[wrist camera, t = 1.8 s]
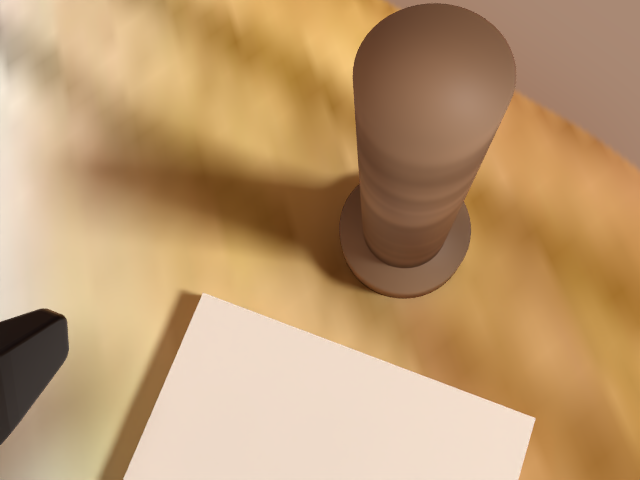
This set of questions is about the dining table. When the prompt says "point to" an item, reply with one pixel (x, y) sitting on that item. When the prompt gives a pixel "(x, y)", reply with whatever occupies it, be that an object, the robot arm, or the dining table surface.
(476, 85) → the tamper
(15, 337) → the robot arm
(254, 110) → the dining table surface
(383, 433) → the tile
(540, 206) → the dining table surface
